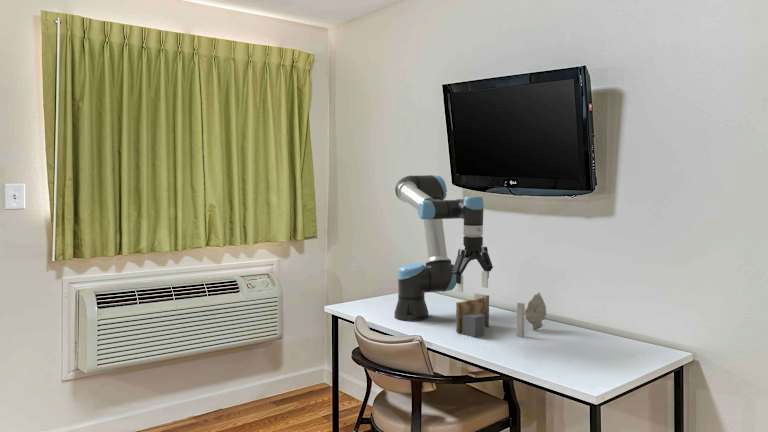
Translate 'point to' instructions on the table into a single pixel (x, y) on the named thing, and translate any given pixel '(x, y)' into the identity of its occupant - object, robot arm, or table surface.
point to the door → (469, 310)
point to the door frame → (519, 314)
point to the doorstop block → (473, 324)
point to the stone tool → (536, 311)
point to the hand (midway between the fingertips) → (472, 289)
